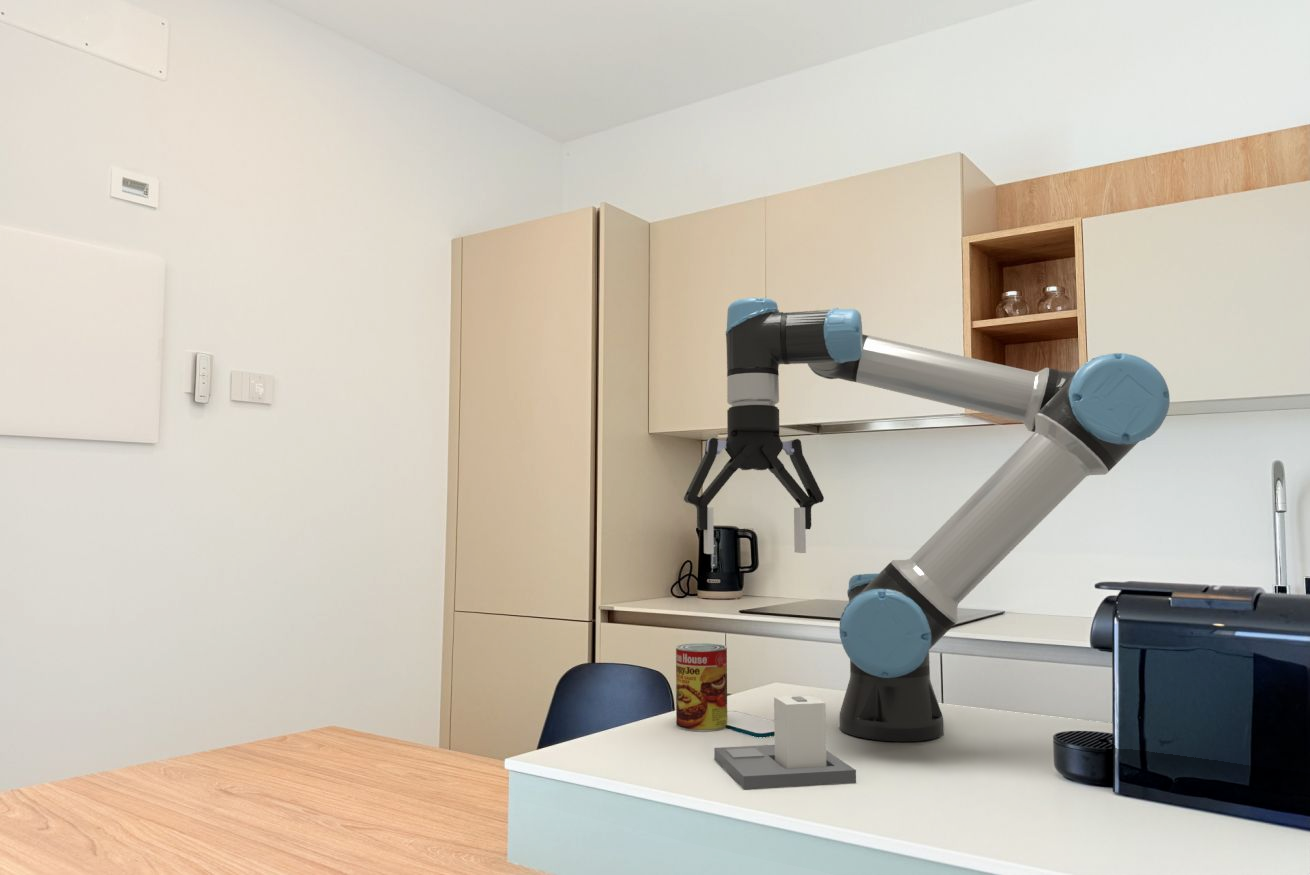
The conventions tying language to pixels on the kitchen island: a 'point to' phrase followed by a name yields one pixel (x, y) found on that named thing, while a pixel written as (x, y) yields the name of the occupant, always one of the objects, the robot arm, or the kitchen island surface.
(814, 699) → the block
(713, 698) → the canned food
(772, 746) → the grey square base plate
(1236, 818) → the kitchen island surface
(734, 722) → the smartphone
